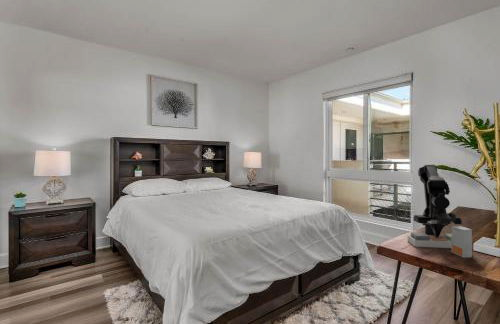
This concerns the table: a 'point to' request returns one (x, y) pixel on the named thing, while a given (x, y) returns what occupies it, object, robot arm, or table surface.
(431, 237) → the terracotta key
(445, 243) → the light grey divided tray
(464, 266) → the table surface
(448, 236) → the sage key
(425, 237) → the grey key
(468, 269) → the table surface
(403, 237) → the table surface
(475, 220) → the table surface
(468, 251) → the skincare box
